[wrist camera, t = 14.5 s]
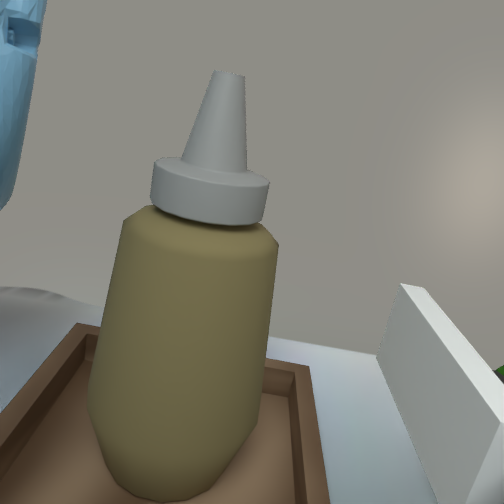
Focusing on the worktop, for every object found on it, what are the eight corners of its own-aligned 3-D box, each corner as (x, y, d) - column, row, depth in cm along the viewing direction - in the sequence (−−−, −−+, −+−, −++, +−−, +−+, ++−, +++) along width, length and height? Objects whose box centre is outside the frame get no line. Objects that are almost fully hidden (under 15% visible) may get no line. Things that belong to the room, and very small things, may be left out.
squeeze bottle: (45, 445, 22) (70, 40, 17) (173, 385, 28) (224, 75, 23) (153, 567, 18) (239, 69, 12) (278, 464, 24) (373, 103, 18)
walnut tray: (-98, 588, 16) (-101, 534, 15) (74, 356, 30) (76, 322, 29) (328, 659, 17) (346, 610, 16) (300, 398, 31) (309, 366, 30)
